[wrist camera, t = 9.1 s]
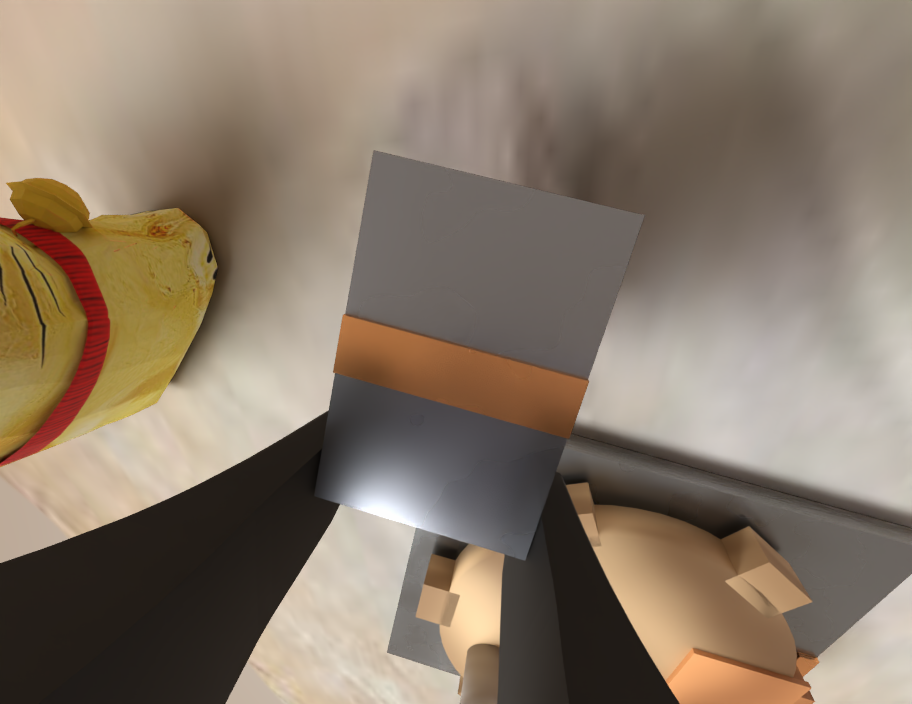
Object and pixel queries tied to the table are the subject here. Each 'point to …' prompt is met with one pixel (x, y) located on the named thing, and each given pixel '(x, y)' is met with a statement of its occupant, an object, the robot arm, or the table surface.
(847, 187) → the table surface
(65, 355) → the chocolate bunny
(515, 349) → the link block
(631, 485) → the plate
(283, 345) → the table surface
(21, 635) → the robot arm
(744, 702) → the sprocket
